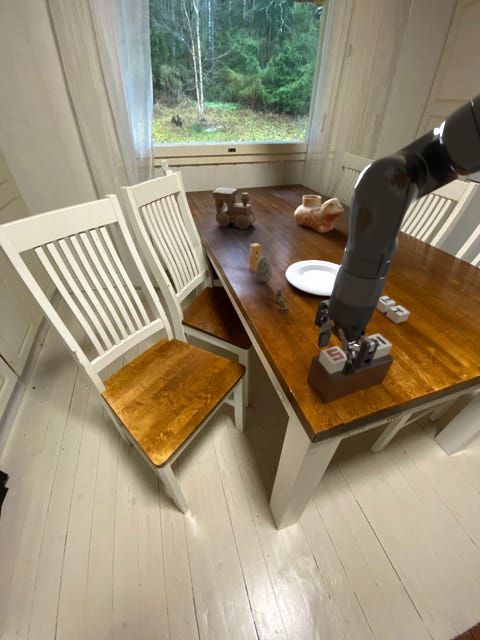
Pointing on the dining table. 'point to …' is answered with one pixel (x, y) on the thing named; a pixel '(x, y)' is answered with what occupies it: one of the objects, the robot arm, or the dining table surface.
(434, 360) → the dining table surface
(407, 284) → the dining table surface
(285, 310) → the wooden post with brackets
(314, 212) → the ceramic vessel
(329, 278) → the plate
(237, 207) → the wooden toy train
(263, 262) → the decorative egg
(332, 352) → the tile
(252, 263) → the supplement box
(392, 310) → the letter cube pair
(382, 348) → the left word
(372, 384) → the tile rack
